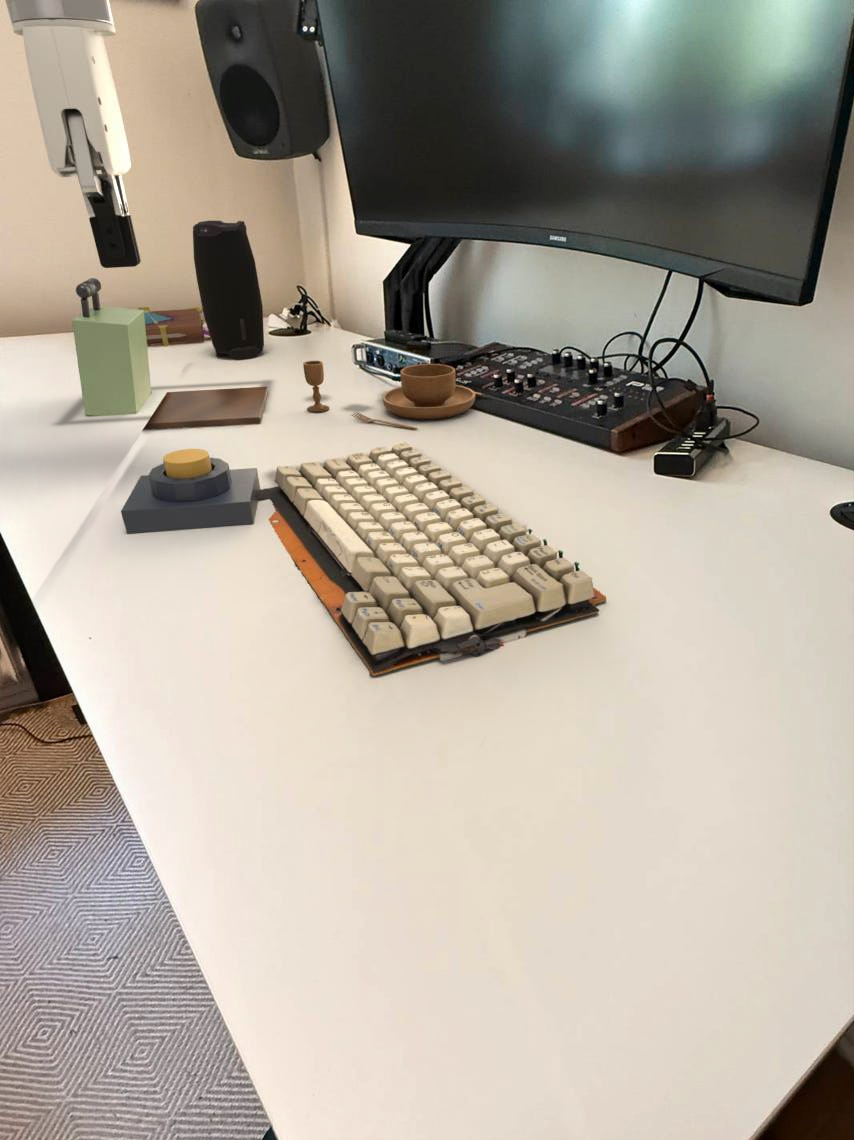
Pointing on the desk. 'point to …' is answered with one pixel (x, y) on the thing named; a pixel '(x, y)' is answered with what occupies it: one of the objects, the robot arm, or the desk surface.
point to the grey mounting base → (192, 500)
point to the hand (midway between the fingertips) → (121, 265)
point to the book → (174, 325)
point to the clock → (110, 355)
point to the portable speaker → (229, 288)
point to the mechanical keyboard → (418, 559)
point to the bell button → (187, 463)
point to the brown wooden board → (209, 408)
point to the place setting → (409, 393)
